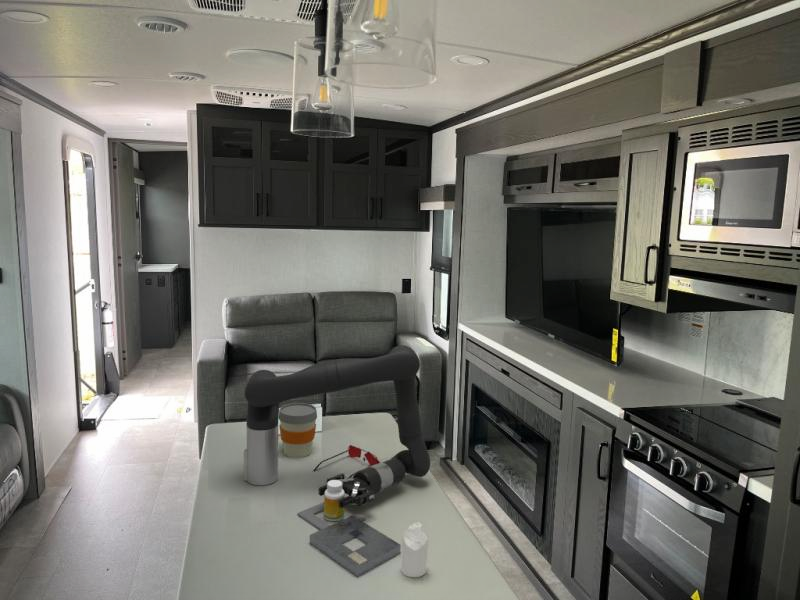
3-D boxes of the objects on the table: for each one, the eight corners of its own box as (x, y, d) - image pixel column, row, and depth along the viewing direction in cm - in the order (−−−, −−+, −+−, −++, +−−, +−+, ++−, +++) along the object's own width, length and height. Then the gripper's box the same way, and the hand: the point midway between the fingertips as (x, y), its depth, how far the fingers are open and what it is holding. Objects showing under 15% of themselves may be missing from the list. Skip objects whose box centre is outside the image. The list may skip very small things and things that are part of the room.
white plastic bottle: (403, 529, 136) (402, 516, 142) (401, 577, 139) (400, 562, 144) (429, 530, 137) (427, 517, 142) (427, 577, 139) (425, 563, 144)
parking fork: (330, 537, 153) (330, 535, 153) (297, 515, 163) (297, 513, 163) (365, 520, 162) (365, 518, 162) (332, 500, 171) (332, 498, 171)
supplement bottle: (340, 523, 160) (341, 489, 158) (321, 520, 161) (321, 486, 159) (346, 512, 165) (347, 479, 163) (327, 510, 166) (328, 477, 164)
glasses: (380, 469, 192) (381, 455, 191) (343, 487, 180) (344, 472, 179) (349, 456, 201) (349, 442, 200) (312, 472, 189) (312, 457, 188)
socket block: (309, 542, 150) (309, 534, 150) (352, 522, 160) (352, 514, 160) (357, 576, 138) (357, 567, 138) (400, 552, 148) (400, 544, 148)
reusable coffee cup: (297, 441, 210) (298, 400, 208) (324, 451, 203) (325, 408, 201) (270, 452, 200) (270, 409, 198) (297, 463, 193) (297, 419, 191)
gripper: (357, 458, 176) (312, 475, 165) (391, 476, 167) (346, 495, 155) (356, 482, 178) (312, 500, 166) (390, 501, 168) (346, 522, 156)
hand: (329, 498), depth 161 cm, fingers open, 8 cm apart
